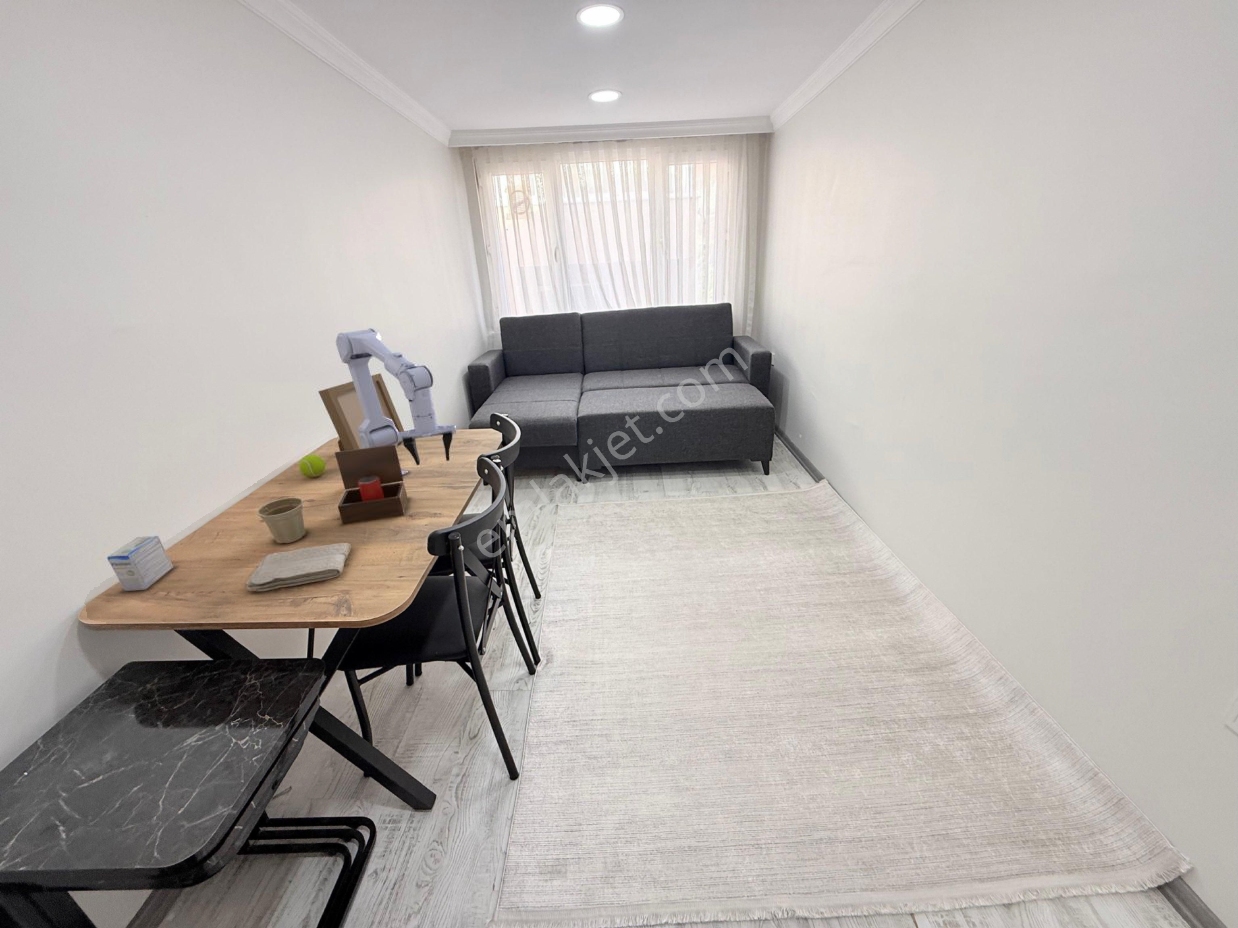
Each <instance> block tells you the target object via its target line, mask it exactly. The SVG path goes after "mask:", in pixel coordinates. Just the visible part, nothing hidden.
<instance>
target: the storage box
mask: <svg viewBox="0 0 1238 928" xmlns="http://www.w3.org/2000/svg"><path fill="white" fill-rule="evenodd" d="M381 486H382V490H383V494H384V498H382V499H376V500H369V501H362V497H361V494H360V490H359V488H352V489H345V491H344V493H343V495H342V497H341V499H340V501H339V502H338V505H337V510H338V513H339V516H340V519H341V523H342V525H343V526H344V525H350V524H357V523H362V522H369V521H375V520H381V519H388V518H394V517H400V516H405V512H406V509H407V504H408V500H409V497H408V493H407V490H406V486H405V482H404V481H401V482H394V483H387V484H381Z"/></svg>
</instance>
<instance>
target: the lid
mask: <svg viewBox="0 0 1238 928" xmlns="http://www.w3.org/2000/svg"><path fill="white" fill-rule="evenodd" d="M334 455H335V458H336V462H337V466H338V470H339V472H340V476H341V481H342V484H343V488H344V490H352V489H359V486H358V483H357V482H358V480H359V479H361V478H363V477H365V476H370V475H375V476H378V477H379V478H380V482H381V485H387V484H393V483H400V482H404V475H402V471H401V470H402V468H401V463H400V460H399V454H398V451H397V447H396V445H387V446H379V447H371V448H363V449H355V450H348V451H340V450H339V451H335V452H334Z"/></svg>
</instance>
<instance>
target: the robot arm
mask: <svg viewBox="0 0 1238 928" xmlns="http://www.w3.org/2000/svg"><path fill="white" fill-rule="evenodd" d="M335 345H336V348H337V351H338V354H339V358H340V359H341V362H342V364H346V365H347V367H348V370H349V373H350V376H351V380H352V381H353V383H354V386H355V389H356V392H357V395H358V399H359V402H360V405H361V408H362V411H363V414H364V417H365V420H364V421H363V423H362V424H361V425H360V426H359V428H358V433H359V441H360V444H361V446H362V448H371V447H379V446H387V445H396V448H397V447H398V444H399V443H398V442H399V441H402V445H403V446H404V447H405V449H406V450H407V451H408V452H409V453H410V455H411V456H412V458H413V459H414V462H415V464H416V466H420V465H421V460H420V459H421V458H420V456H419V455H420V454H419V453H418V448H417V443H416V439H421V438H423V439H424V438H430V437H437V436H442V437H441V438H442V439H441V440H442V443H443V448H444V453H445V459H446V462H449V461H450V449H451V445H452V441H453V435H457V428H456V424H454V425H453V424H452V425H438V422H437V417H436V411H435V406H434V401H433V397H432V390H431V388H432V387H433V385H434V377H433V374H432V372H431V370H430V369H429V368H428V367H427V365H425V364H422V365H420V364H418V365H416V364H415V363H414V362H413V361H411V360H410V359H409V358H407V357H406V355H403V353H402V352H399V351H398V352H397V351H395V352H393V351H392V349H390V348H389V347H388V346H387V345H385V343H384V342H383V340H382V337H381V335H380V332H378V331H377V330H376V329H374V328H372V327H371V328H367V329H361V330H355V331H347V332H339V333H338V334H337V336H336V339H335ZM372 358H375V359H377V360H379V361H380V362H381V363H383V367H384V369H385V370H386V371H387V373H389V374H390V375H392V376H393V377H394V378H395V379H397V380H398V383H399V385H400V388H401V389H402V391H403V393H404V397H405V399H407V400H408V404H409V410H410V414H411V419H412V423H413V427H414V428H413V429H408V430H404V431H403V432H398V430H397V429H396V427H395V425H394V422H393V421H392V420H391V419H389V418H386V417H384V416H383V413H382V410H381V407H380V403H379V400H378V397H377V393H376V390H375V387H374V384H373V380H372V377H371V376H372V374H371V370H370V368H369V362H370V360H371V359H372ZM375 428H376V429H375ZM397 443H398V444H397ZM401 471H402V476H404V475H406V474H408V470H404V469H401Z"/></svg>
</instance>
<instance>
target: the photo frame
mask: <svg viewBox="0 0 1238 928" xmlns="http://www.w3.org/2000/svg"><path fill="white" fill-rule="evenodd" d="M371 377H372V380H373V384H374V387H375V390H376V393H377V397H378V400H379V403H380V407H381V410H382V413H383V416H384V417H386V418H389V419H391V420H392V421H393V422H394V425H395V427H396V429H397V430H398V432H403V431H405V429H404V427H403V424H402V422H401V420H400V417H399V414H398V412H397V410H396V408H395V405H394V403H393V400H392V398H391V395H390V393H389V390H388V388H387V385H386V383H385V380H384V379H383V376H382V373H375V374H371ZM318 394H319V396H320V398H321V401H322V403H323V405H324V407H325V410H326V412H327V414H328V417H329V419H330V420H331V422H332V425H333V427H334V429H335V431H336V434H337V436H338V438H339V439H338V441H337V446H338V450H339V452H340V451H348V450H355V449H363V448H362V446H361V444H360V441H359V433H358V428H359V426H360V425H361V424H362V423H363V421H364V420H365V417H364V414H363V411H362V408H361V405H360V402H359V399H358V395H357V392H356V389H355V386H354V383H353V380H352V381H348V382H345V383H341V384H338V385H335V386H332V387H331V386H330V387H327V388H324V389H322V390H319V391H318ZM375 429H376V428H375ZM400 443H403V441H399V442H398V443H397V445H398V444H400Z"/></svg>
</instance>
